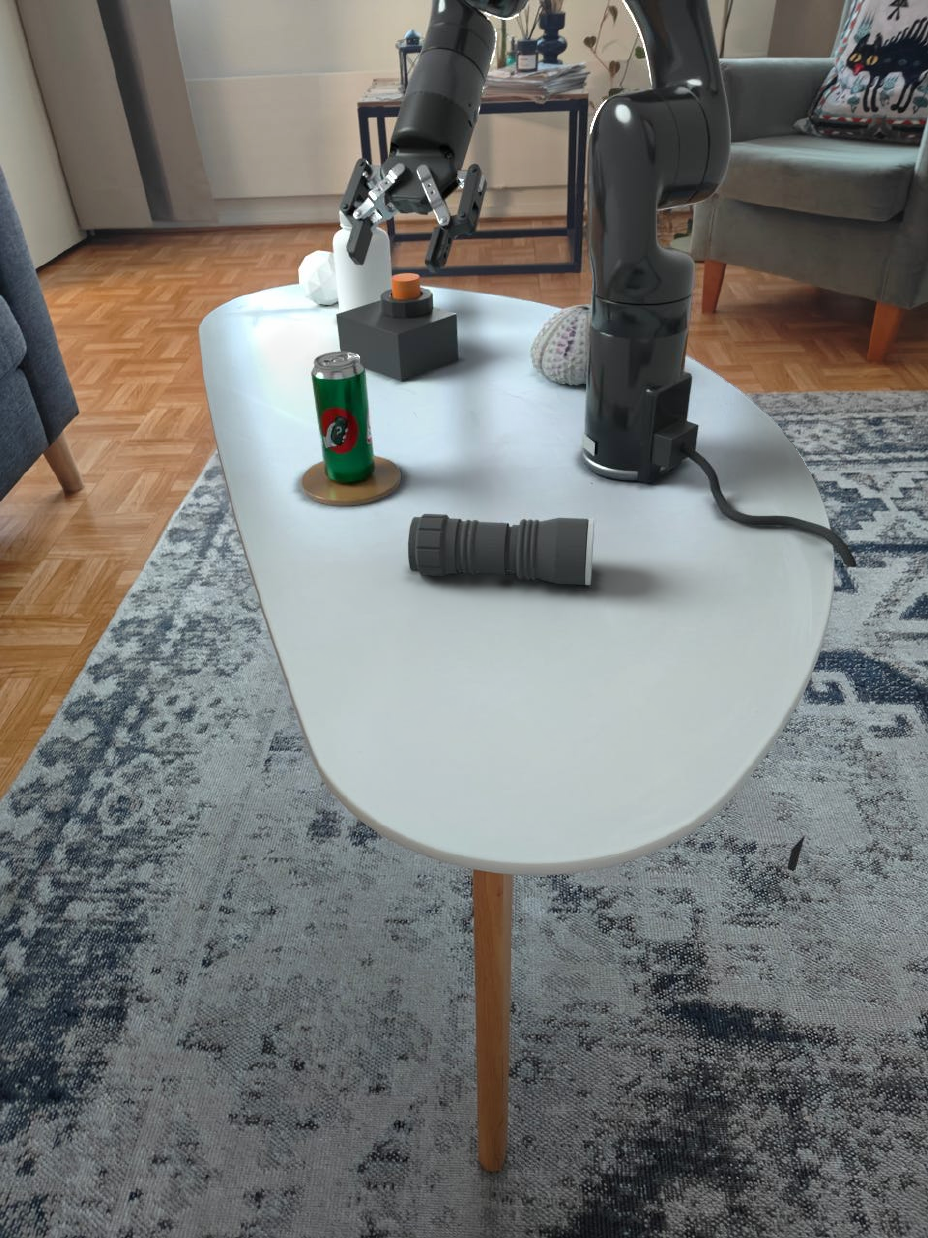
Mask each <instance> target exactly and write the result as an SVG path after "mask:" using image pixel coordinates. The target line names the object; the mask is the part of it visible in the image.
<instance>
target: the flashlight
mask: <svg viewBox="0 0 928 1238" xmlns="http://www.w3.org/2000/svg"><path fill="white" fill-rule="evenodd" d="M594 536H595V518H575V517H556V518H551V519H546V520H539V519H534V520H533V519H531V518H530V519H528V520H527V519H525V518H523V519H521V520H520V521H519V524H512V526H510V523H509V522H494V521H493V522H492V521H491V522H490V521H479V520H478V519H473V520H471V519H466V520H462V519H461V518H451V517H449V515H448V514H444V513H443V514H442V513H440V514H439V513H423V514H422V515H421V516H414V517H413V518H412V519H411V522H410V525H409V530H408V540H407V557H408V565H409V568H410V571H411V572H417V573H419V574H420V575H421V576H433V577H435V576H438V577H445V576H446V575H447V574H459V573H461V572H462V573H464V574H469V573H470V574H471V575H474V574H476V573H483V574H484V573H486V574H504V575H505V574H507V573H508V571H509V572H510V573H516V576H517V578H518V579H520V580H523V579H525V580H529V579H531V580H534V581H535V580H536V579H538V580H542V581H545V582H549V583H552V584H557V585H578V586H579V585H580V586H584V585H585V586H591V584H592V574H593V573H592V572H593V571H592V570H593V556H594V555H593V554H594V539H595V538H594Z"/></svg>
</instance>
